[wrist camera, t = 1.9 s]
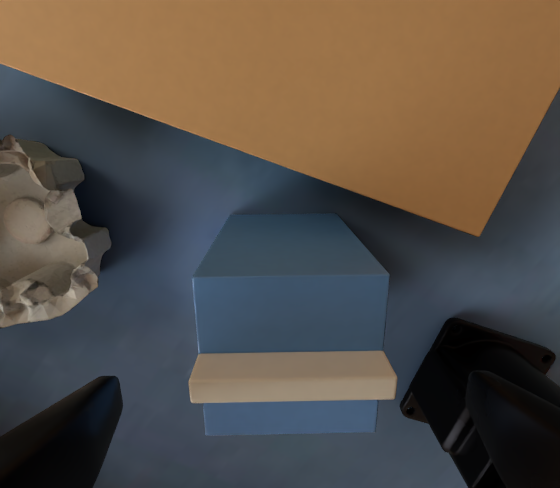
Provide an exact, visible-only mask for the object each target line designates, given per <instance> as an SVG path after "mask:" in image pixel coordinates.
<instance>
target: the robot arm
mask: <svg viewBox="0 0 560 488" xmlns="http://www.w3.org/2000/svg"><path fill="white" fill-rule="evenodd" d="M454 326H457V328H456V329H454V330H452V328H453V327H454ZM543 356H544V357H543ZM542 357H543V358H542ZM554 361H555V354H554V353H553V352H552V351H551V350H549V349H548V348H546V347H544V346H541V345H538V344H535V343H532V342H529V341H526V340H523V339H520V338H517V337H514V336H511V335H507V334H504V333H501V332H498V331H495V330H492V329H489V328H486V327H483V326H480V325H477V324H474V323H471V322H468V321H465V320H462V319H459V318H450V319H448V320H447V321H446V322H445V323H444V325H443V327H442V329H441V331H440V333H439V334H438V336H437V338H436V340H435V342H434V343H433V345H432V347H431V349H430V351H429V352H428V353H427V355H426V357H425V359H424V360H423V362H422V364H421V366H420V368H419V370H418V371H417V373H416V375H415V377H414V379H413V380H412V382H411V384H410V386H409V389H408V391H407V393H406V394H405V396H404V398H403V400H402V402H401V404H400V409H401V411H402V413H403V415H404V416H405V417H407V418H410V419H414V420H417V421H421V422H424V423H428V424H429V425H430V427H431V429H432V431H433V433H434V434H435V436H436V438H437V440H438V442H439V443H440V445H441V447H442V449H443V450H444V451H445V452H448V453H449V454H450V456H451V458H452V459H453V461H454V463H455V465H456V466H457V468H458V470H459V472H460V474H461V475H462V477H463V479H464V481H465V482H466V484H467V486H468V488H560V387H559V386H558V385H557V384H556V383H554V382H553V381H552V380H551V379H550V378H549V377H547V376H546V375H545V374H546V373H547V371H548V370H549V368H550V367H551V365H552V364H553V362H554ZM410 407H412V408H410ZM122 408H123V401H122V395H121V389H120V383H119V379H118V378H117V377H116V376H100V377H98V378H96V379H95V380H93V381H91V382H90V383H88V384H86V385H85V386H83V387H81V388H80V389H78V390H77V391H75V392H73V393H72V394H70V395H68V396H67V397H65V398H63V399H62V400H60V401H58V402H57V403H55V404H53V405H52V406H50V407H49V408H47V409H45V410H44V411H42V412H40V413H39V414H37V415H35V416H34V417H32V418H30V419H29V420H27V421H25V422H24V423H22V424H20V425H19V426H17V427H16V428H14V429H12V430H11V431H9V432H7V433H6V434H4V435H2V436H1V437H0V488H93V486H94V483H95V481H96V479H97V477H98V474H99V472H100V469H101V467H102V464H103V462H104V459H105V456H106V453H107V451H108V448H109V445H110V443H111V440H112V437H113V434H114V432H115V429H116V426H117V424H118V421H119V418H120V415H121V412H122ZM408 408H410V409H408Z"/></svg>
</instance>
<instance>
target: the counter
mask: <svg viewBox="0 0 560 488" xmlns="http://www.w3.org/2000/svg"><path fill="white" fill-rule="evenodd" d="M0 64H3V65H6V66H8V67H11V68H14V69H17V70H19V71H22V72H25V73H28V74H30V75H33V76H36V77H39V78H42V79H44V80H47V81H50V82H53V83H55V84H58V85H61V86H64V87H66V88H69V89H72V90H75V91H77V92H80V93H83V94H86V95H88V96H91V97H94V98H97V99H99V100H102V101H105V102H108V103H110V104H113V105H116V106H119V107H121V108H124V109H127V110H130V111H132V112H135V113H138V114H141V115H143V116H146V117H149V118H152V119H154V120H157V121H160V122H163V123H165V124H168V125H171V126H174V127H176V128H179V129H182V130H185V131H187V132H190V133H193V134H196V135H198V136H201V137H204V138H207V139H209V140H212V141H215V142H218V143H220V144H223V145H226V146H229V147H231V148H234V149H237V150H240V151H242V152H245V153H248V154H251V155H253V156H256V157H259V158H262V159H264V160H267V161H270V162H273V163H275V164H278V165H281V166H284V167H286V168H289V169H292V170H295V171H297V172H300V173H303V174H306V175H308V176H311V177H314V178H317V179H319V180H322V181H325V182H328V183H330V184H333V185H336V186H339V187H341V188H344V189H347V190H350V191H352V192H355V193H358V194H361V195H363V196H366V197H369V198H372V199H374V200H377V201H380V202H383V203H385V204H388V205H391V206H394V207H396V208H399V209H402V210H405V211H407V212H410V213H413V214H416V215H418V216H421V217H424V218H427V219H429V220H432V221H435V222H438V223H440V224H443V225H446V226H449V227H451V228H454V229H457V230H460V231H462V232H465V233H468V234H471V235H473V236H476V237H479V236H480V235H481V233H482V231H483V229H484V227H485V225H486V223H487V222H488V220H489V218H490V216H491V214H492V212H493V210H494V209H495V207H496V205H497V203H498V201H499V199H500V197H501V196H502V194H503V192H504V190H505V188H506V186H507V184H508V183H509V181H510V179H511V177H512V175H513V173H514V171H515V170H516V168H517V166H518V164H519V162H520V160H521V158H522V157H523V155H524V153H525V151H526V149H527V147H528V146H529V144H530V142H531V140H532V138H533V136H534V134H535V133H536V131H537V129H538V127H539V125H540V123H541V121H542V120H543V118H544V116H545V114H546V112H547V110H548V108H549V107H550V105H551V103H552V101H553V99H554V97H555V95H556V94H557V92H558V90H559V88H560V0H0Z"/></svg>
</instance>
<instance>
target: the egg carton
mask: <svg viewBox="0 0 560 488" xmlns="http://www.w3.org/2000/svg"><path fill="white" fill-rule="evenodd" d="M83 180H84V173H83V171H82V168H81V165H80V163H79V161H78V159H75V158H65V157H60V156H58V155H56V154H55V153H54V152H52V151H51V150H49V149H48V147H47V146H46V145H45V144H43V143H40V142H34V141H28V140H22V139H15V138H14V137H13V136H12V135H7V136H6V137H4V138H3V140H2V141H1V140H0V328H3V327H7V326H11V325H14V324H19V323H28V322H35V321H42V320H49V319H52V318H55V317H58V316H61V315H63V314H65V313H66V312H68V311H69V310H71V309H72V308H73V307H74V306H75V305H77V304H78V303H79V302H80V301H81V300H82V299H83V298H84V297H85V296H87V295H88V294H89V293H90V292H91V291H93V290H94V289H95V288H97V287H98V278H97V277H98V276H99V275H100V263H101V258H102V255H103V254H104V253H105V251H107V250H108V249H110V247H111V240H110V237H109V231H108V229H107V228H104V227H94V226H90V225H88V224H87V223H85V222H84V221H83V220H82V219H81V218H82V216H81V212H80V209H79V206H78V203H77V200H76V197H75V194H74V188H75V187H76V186H77V185H78V184H79V183H81V182H82V181H83Z"/></svg>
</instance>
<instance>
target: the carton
mask: <svg viewBox="0 0 560 488" xmlns="http://www.w3.org/2000/svg"><path fill="white" fill-rule="evenodd" d="M389 280H390V274H389V273H388V272H387V271H386V270H385V268H384V267H383V266H382V265H381V264H380V263H379V262H378V261H377V259H376V258H375V257H374V256H373V255H372V254H371V253H370V251H369V250H368V249H367V248H366V247H365V246H364V245H363V243H362V242H361V241H360V240H359V239H358V238H357V237H356V235H355V234H354V233H353V232H352V231H351V230H350V229H349V228H348V226H347V225H346V224H345V223H344V222H343V221H342V220H341V218H340V217H339V216H338V215H337V214H336V213H335V214H242V215H230V216H229V217H228V219H227V221H226V222H225V224H224V226H223V227H222V229H221V231H220V232H219V234H218V235H217V237H216V239H215V240H214V242H213V244H212V245H211V247H210V249H209V250H208V252H207V254H206V255H205V257H204V259H203V260H202V262H201V264H200V265H199V267H198V268H197V270H196V272H195V273H194V275H193V277H192V284H193V296H194V307H195V318H196V330H197V341H198V352H199V355H198V357H197V360H196V362H195V365H194V368H193V371H192V374H191V376H190V379H189V391H190V400H191V402H192V403H203V409H204V421H205V432H206V435H207V436H210V435H260V434H309V433H359V432H375V431H376V422H377V411H378V400H388V399H395V397H396V387H397V376H396V374H395V372H394V370H393V368H392V366H391V364H390V362H389V360H388V359H387V357H386V355H385V353H384V351H383V346H384V335H385V324H386V313H387V302H388V291H389Z"/></svg>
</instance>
